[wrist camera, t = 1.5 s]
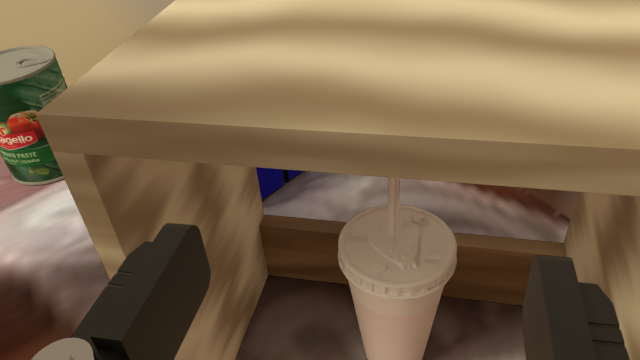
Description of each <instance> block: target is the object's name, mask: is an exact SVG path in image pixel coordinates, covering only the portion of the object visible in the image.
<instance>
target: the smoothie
mask: <svg viewBox="0 0 640 360" xmlns="http://www.w3.org/2000/svg"><path fill="white" fill-rule="evenodd" d="M399 187H400V178H392V177H389V181H388V205H384V206H378V207H374V208H371V209H368V210H365V211H363V212H361V213H359V214H358V215H356V216H354V217H353V218H352V219H351V220H349V221H348V222H347V224H346V225H345V226H344V227H343V229H342V231H341V233H340V236H339V240H338V261H339V266H340V268H341V270H342V272H343V273H344V275H345V277H346V278H347V279H348V281H349V286H350V289H351V294H352V298H353V302H354V306H355V311H356V315H357V319H358V323H359V328H360V332H361V336H362V341H363V345H364V349H365V353H366V357H367V360H422V358H423V355H424V352H425V348H426V345H427V341H428V338H429V335H430V331H431V328H432V325H433V321H434V318H435V314H436V311H437V308H438V304H439V301H440V298H441V294H442V292H443V288H444V285H445V284H446V283H447V282H448V280H449V279H450V278H451V276H452V275H453V274H454V270H455V267H456V264H457V257H456V253H457V243H456V239H455V236H454V234H453V232H452V231H451V229H450V228H449V227H448V225H447V224H446V223H445V222H444V221H442V220H441V219H440V218H438V217H437V216H435V215H434V214H432V213H430V212H428V211H425V210H423V209H420V208H416V207H412V206H406V205H399Z"/></svg>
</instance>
